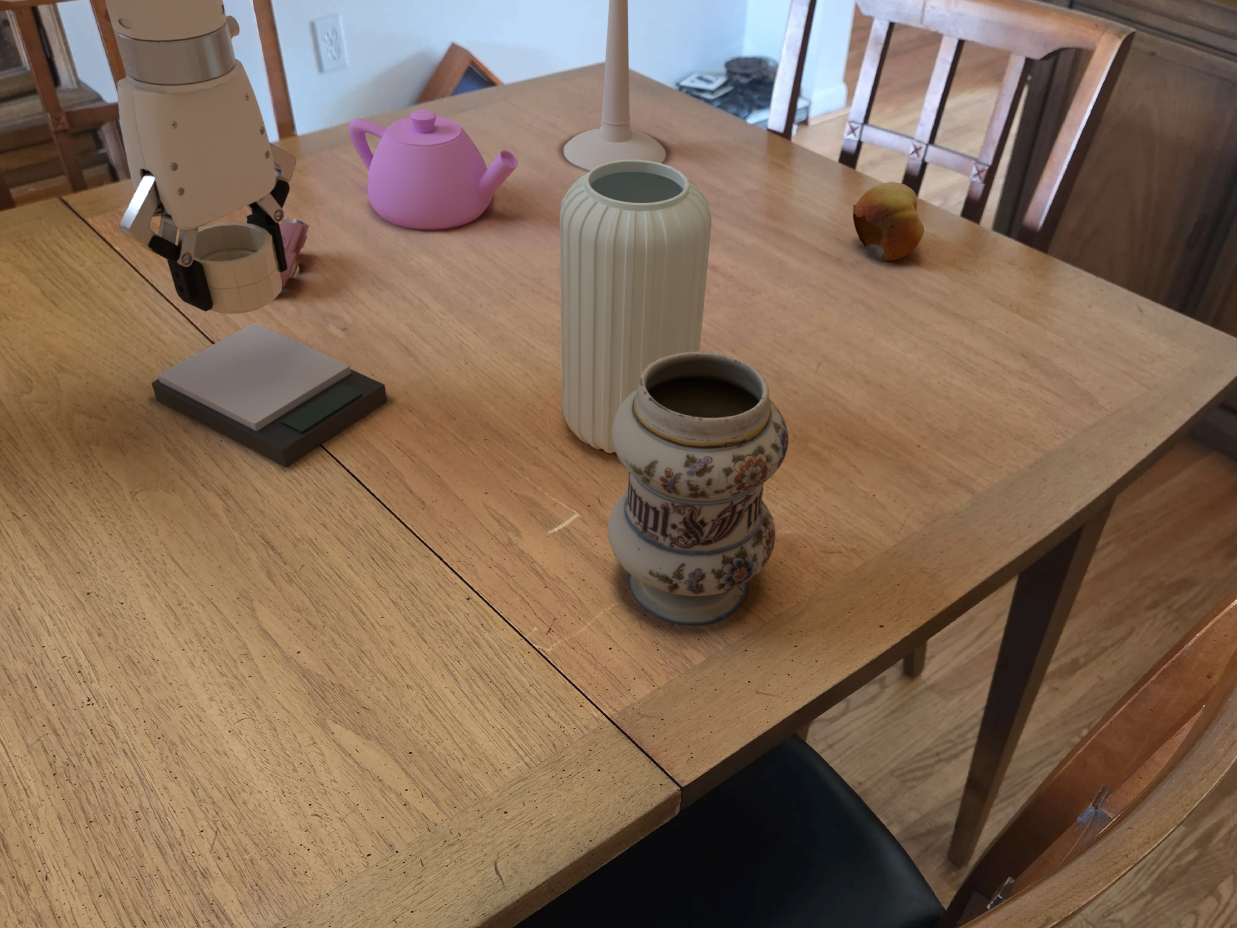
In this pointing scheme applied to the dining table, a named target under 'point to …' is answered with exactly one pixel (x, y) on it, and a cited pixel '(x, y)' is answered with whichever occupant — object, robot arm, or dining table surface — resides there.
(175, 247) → the robot arm
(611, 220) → the vase
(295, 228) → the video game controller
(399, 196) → the teapot
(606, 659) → the dining table surface
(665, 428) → the apothecary jar
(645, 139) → the candlestick
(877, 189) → the fruit
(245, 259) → the ring
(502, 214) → the dining table surface
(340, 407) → the scale
